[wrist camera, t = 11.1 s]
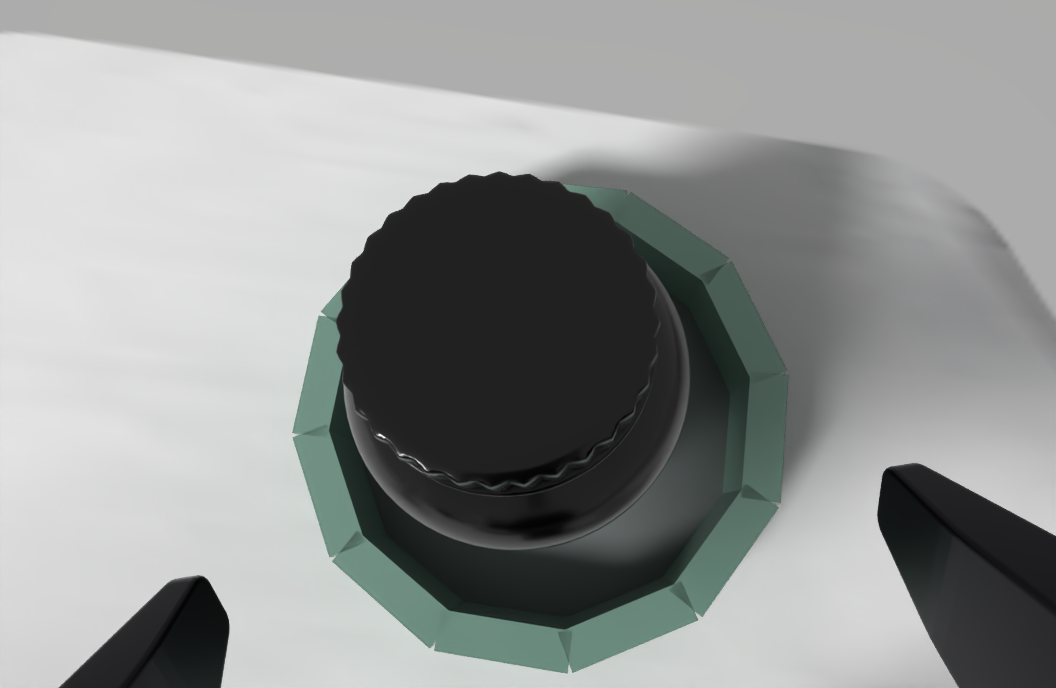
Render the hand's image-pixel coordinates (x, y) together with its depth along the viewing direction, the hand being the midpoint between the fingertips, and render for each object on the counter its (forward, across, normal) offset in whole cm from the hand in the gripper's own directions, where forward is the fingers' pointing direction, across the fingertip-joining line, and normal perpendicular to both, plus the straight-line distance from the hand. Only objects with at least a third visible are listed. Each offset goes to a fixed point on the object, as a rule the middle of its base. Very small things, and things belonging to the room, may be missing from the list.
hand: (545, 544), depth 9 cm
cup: (+11, 0, +6) cm, 13 cm away
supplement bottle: (+11, 0, +6) cm, 13 cm away
